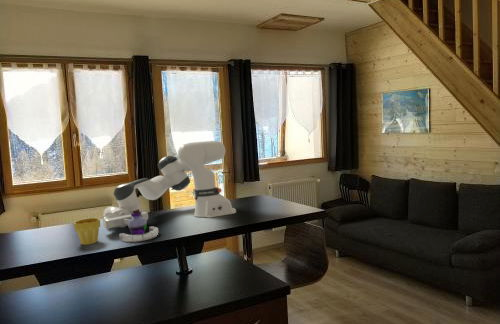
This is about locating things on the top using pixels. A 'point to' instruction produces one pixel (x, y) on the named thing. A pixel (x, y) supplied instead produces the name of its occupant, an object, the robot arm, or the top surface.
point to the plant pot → (87, 230)
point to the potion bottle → (137, 223)
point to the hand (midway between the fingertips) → (132, 221)
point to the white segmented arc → (140, 235)
